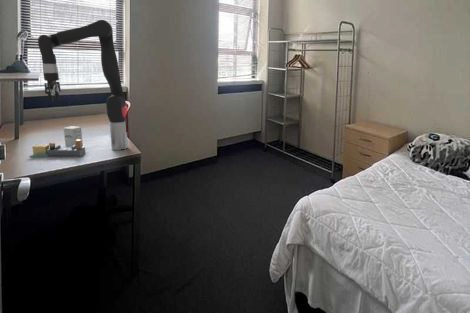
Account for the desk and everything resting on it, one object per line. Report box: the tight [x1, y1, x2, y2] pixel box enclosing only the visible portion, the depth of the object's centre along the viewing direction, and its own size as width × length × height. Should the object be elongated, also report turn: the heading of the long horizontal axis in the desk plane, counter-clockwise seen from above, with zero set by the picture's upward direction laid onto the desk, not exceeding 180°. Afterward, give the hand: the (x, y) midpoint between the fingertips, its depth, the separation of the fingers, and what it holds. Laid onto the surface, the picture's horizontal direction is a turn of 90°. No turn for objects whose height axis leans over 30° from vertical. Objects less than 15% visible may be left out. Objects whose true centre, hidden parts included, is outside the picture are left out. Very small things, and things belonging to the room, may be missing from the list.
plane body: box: [47, 138, 86, 158], centre depth 192 cm, size 18×8×9 cm, turn 94°
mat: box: [29, 154, 49, 158], centre depth 193 cm, size 9×9×1 cm
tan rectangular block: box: [32, 144, 50, 155], centre depth 192 cm, size 7×4×5 cm, turn 94°
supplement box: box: [63, 125, 84, 147], centre depth 210 cm, size 7×7×13 cm
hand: (54, 100), depth 195 cm, fingers open, 8 cm apart
